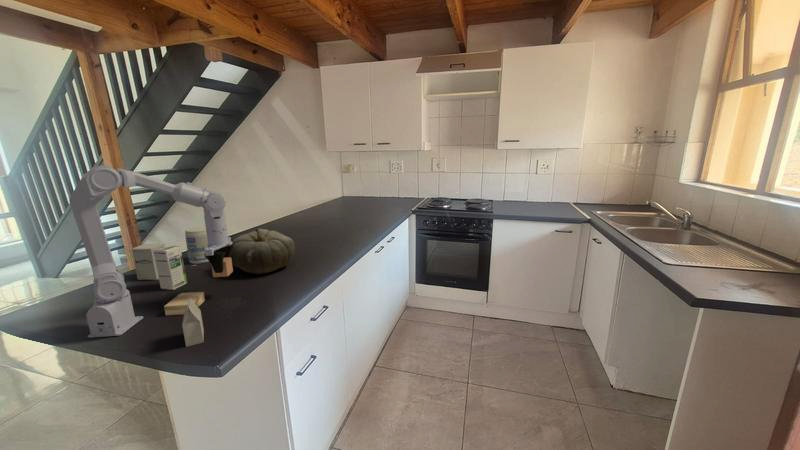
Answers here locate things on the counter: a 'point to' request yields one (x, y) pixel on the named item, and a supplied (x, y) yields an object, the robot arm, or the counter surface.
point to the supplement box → (146, 261)
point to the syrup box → (170, 267)
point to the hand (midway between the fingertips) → (222, 269)
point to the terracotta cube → (224, 268)
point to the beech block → (183, 302)
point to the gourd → (262, 251)
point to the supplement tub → (196, 244)
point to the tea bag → (193, 325)
